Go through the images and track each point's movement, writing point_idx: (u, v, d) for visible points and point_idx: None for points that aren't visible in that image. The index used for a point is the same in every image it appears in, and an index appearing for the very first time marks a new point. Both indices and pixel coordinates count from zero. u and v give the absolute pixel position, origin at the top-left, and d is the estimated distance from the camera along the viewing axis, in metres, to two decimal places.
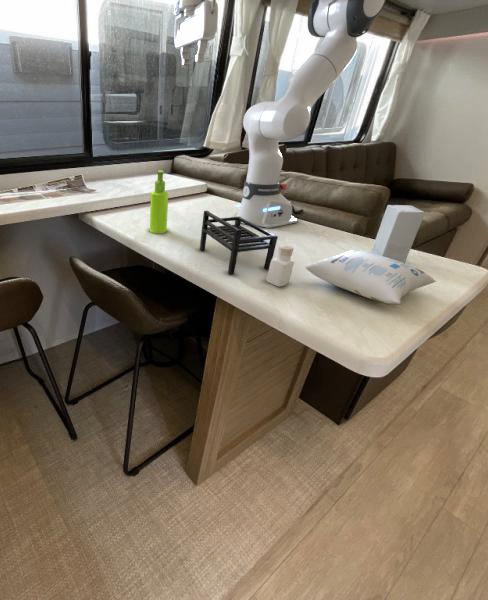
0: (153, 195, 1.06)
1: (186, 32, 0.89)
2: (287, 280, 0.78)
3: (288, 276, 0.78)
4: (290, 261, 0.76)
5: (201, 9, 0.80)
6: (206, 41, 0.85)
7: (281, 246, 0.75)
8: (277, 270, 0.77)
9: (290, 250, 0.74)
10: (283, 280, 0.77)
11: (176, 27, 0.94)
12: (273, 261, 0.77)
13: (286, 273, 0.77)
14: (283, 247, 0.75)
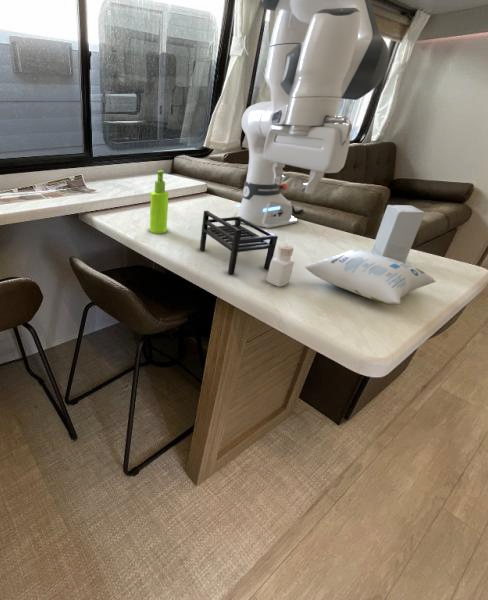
0: (153, 195, 1.06)
1: (288, 150, 0.67)
2: (287, 280, 0.78)
3: (288, 276, 0.78)
4: (290, 261, 0.76)
5: (325, 136, 0.58)
6: (323, 171, 0.63)
7: (281, 246, 0.75)
8: (277, 270, 0.77)
9: (290, 250, 0.74)
10: (283, 280, 0.77)
11: (270, 136, 0.72)
12: (273, 261, 0.77)
13: (286, 273, 0.77)
14: (283, 247, 0.75)
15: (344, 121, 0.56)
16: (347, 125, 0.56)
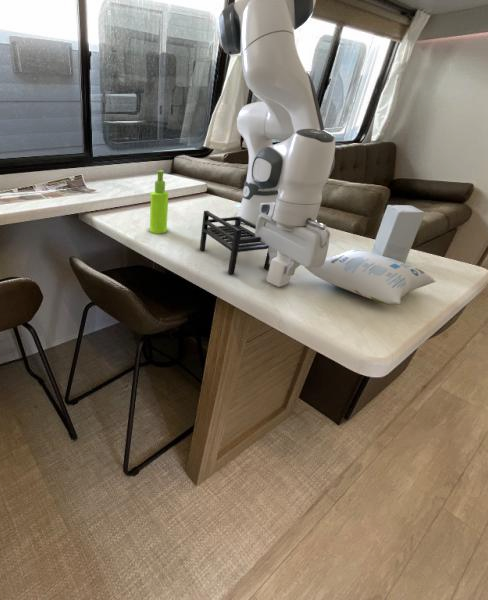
0: (153, 195, 1.06)
1: (276, 238, 0.75)
2: (287, 280, 0.78)
3: (288, 276, 0.78)
4: None
5: (307, 239, 0.66)
6: None
7: None
8: (277, 270, 0.77)
9: None
10: (283, 280, 0.77)
11: (260, 221, 0.80)
12: (273, 261, 0.77)
13: None
14: None
15: (323, 228, 0.64)
16: (325, 233, 0.64)
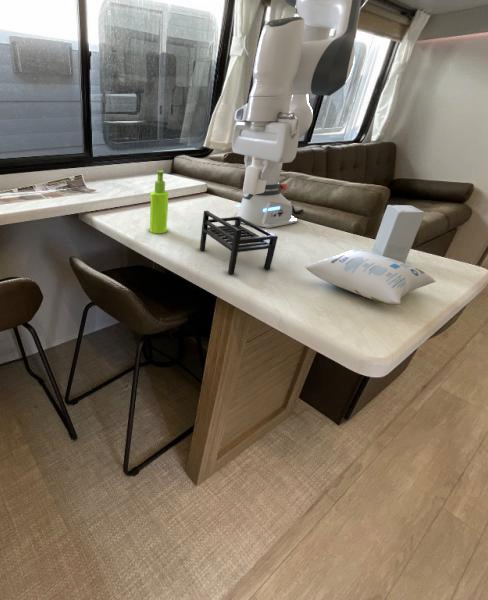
0: (153, 195, 1.06)
1: (251, 143, 0.76)
2: (262, 188, 0.79)
3: (263, 183, 0.78)
4: None
5: (278, 131, 0.67)
6: None
7: None
8: (252, 176, 0.77)
9: None
10: (258, 187, 0.78)
11: (236, 131, 0.80)
12: (248, 168, 0.77)
13: None
14: None
15: (292, 117, 0.65)
16: (295, 120, 0.64)
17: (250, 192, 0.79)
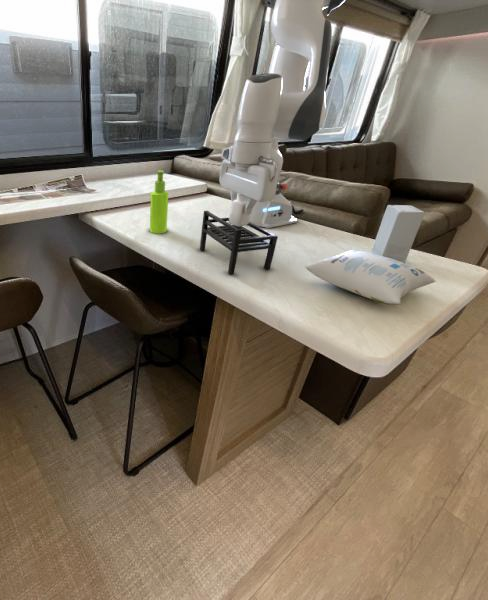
0: (153, 195, 1.06)
1: (236, 181, 0.83)
2: (246, 221, 0.86)
3: (247, 217, 0.85)
4: None
5: (259, 174, 0.74)
6: None
7: None
8: (237, 210, 0.84)
9: None
10: (242, 220, 0.85)
11: (223, 168, 0.87)
12: (233, 202, 0.84)
13: None
14: None
15: (271, 163, 0.71)
16: (273, 166, 0.71)
17: (235, 224, 0.86)
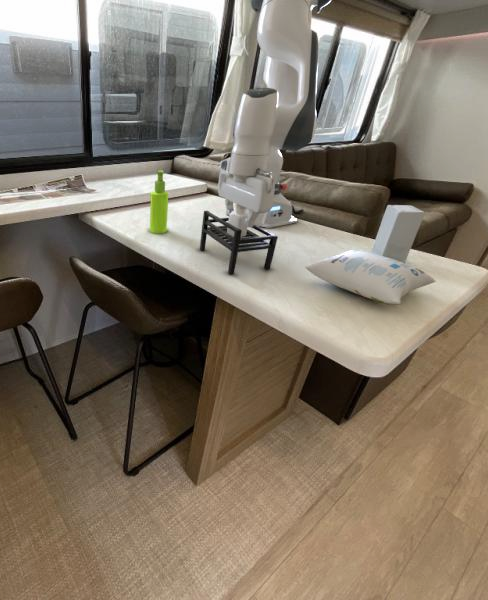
0: (153, 195, 1.06)
1: (234, 191, 0.84)
2: (244, 232, 0.87)
3: (245, 228, 0.87)
4: (245, 214, 0.85)
5: (256, 186, 0.75)
6: None
7: None
8: (234, 222, 0.86)
9: None
10: None
11: (221, 178, 0.88)
12: (231, 214, 0.86)
13: (242, 225, 0.86)
14: None
15: (268, 175, 0.73)
16: (270, 179, 0.72)
17: (233, 236, 0.87)
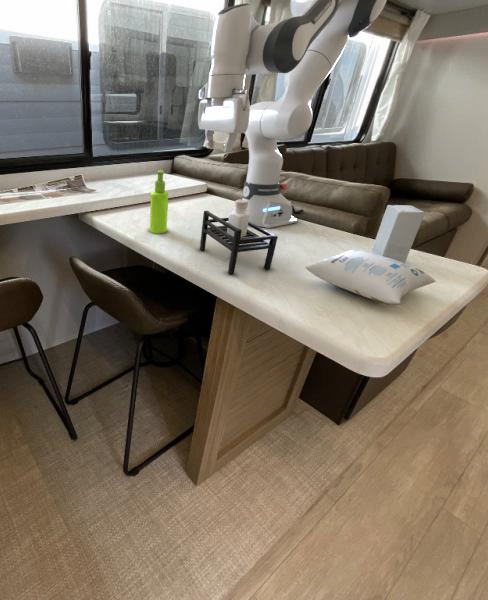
0: (153, 195, 1.06)
1: (212, 119, 0.85)
2: (244, 232, 0.87)
3: (245, 228, 0.87)
4: (245, 214, 0.85)
5: (232, 105, 0.77)
6: (235, 133, 0.81)
7: (237, 200, 0.84)
8: (234, 222, 0.86)
9: (245, 203, 0.83)
10: None
11: (201, 109, 0.90)
12: (231, 214, 0.86)
13: (242, 225, 0.86)
14: (239, 201, 0.84)
15: (243, 92, 0.74)
16: (245, 95, 0.74)
17: (233, 236, 0.87)
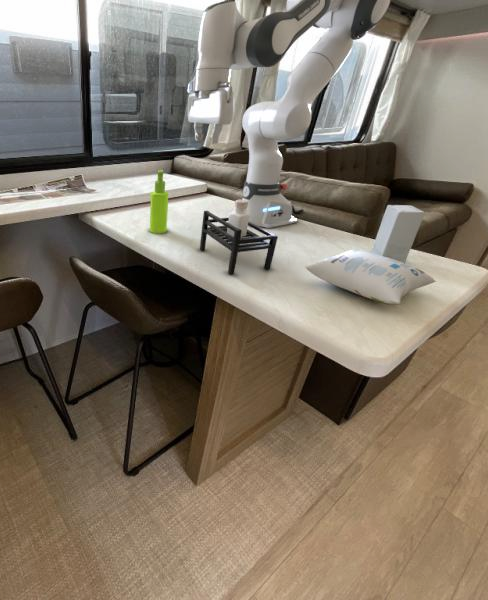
0: (153, 195, 1.06)
1: (200, 111, 0.89)
2: (244, 232, 0.87)
3: (245, 228, 0.87)
4: (245, 214, 0.85)
5: (217, 97, 0.80)
6: (221, 125, 0.84)
7: (237, 200, 0.84)
8: (234, 222, 0.86)
9: (245, 203, 0.83)
10: None
11: (190, 103, 0.93)
12: (231, 214, 0.86)
13: (242, 225, 0.86)
14: (239, 201, 0.84)
15: (227, 85, 0.78)
16: (229, 87, 0.77)
17: (233, 236, 0.87)
